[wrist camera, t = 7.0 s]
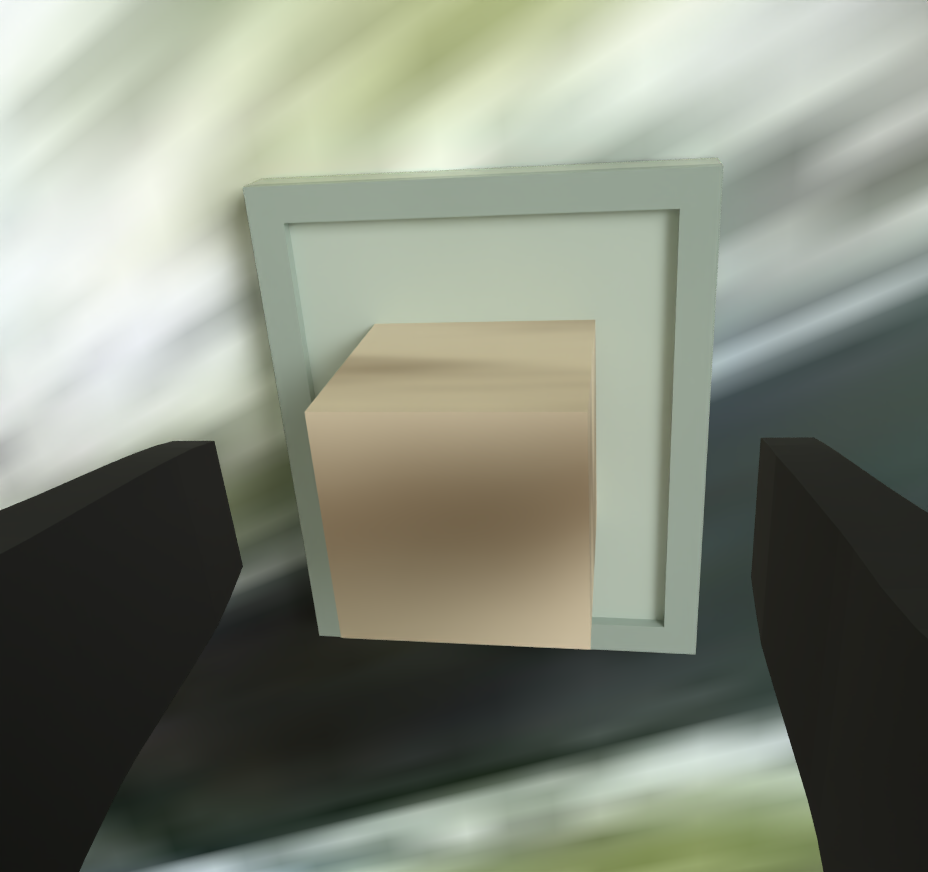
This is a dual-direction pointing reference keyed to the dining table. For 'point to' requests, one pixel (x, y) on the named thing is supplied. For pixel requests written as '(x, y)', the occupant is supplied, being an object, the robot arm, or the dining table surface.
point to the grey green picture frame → (523, 299)
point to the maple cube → (462, 483)
